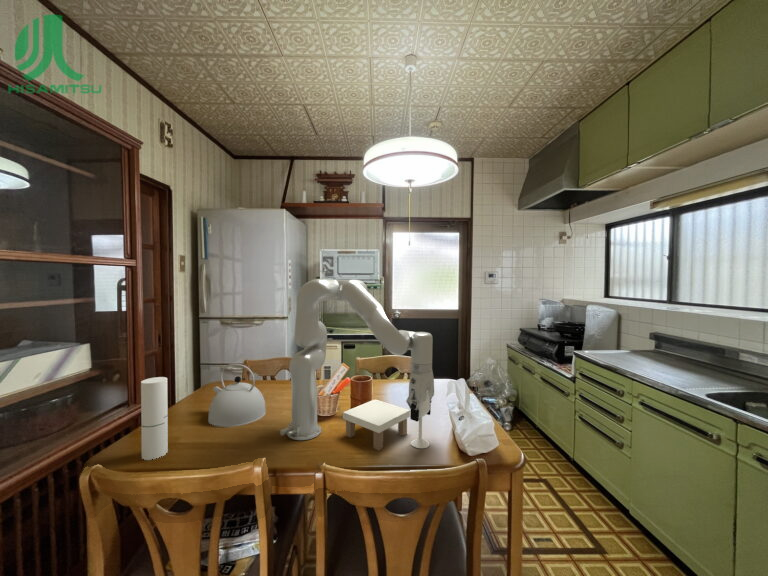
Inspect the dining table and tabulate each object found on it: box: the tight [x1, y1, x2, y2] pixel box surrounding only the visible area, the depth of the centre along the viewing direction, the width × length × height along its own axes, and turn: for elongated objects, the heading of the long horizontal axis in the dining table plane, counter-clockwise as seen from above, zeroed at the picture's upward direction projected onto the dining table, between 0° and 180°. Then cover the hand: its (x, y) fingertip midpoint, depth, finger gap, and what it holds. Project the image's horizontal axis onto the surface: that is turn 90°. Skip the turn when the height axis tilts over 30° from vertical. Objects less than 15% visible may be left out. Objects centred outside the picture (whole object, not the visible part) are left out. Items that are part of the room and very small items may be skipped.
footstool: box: [342, 399, 411, 451], centre depth 122 cm, size 18×18×9 cm
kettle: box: [207, 363, 267, 428], centre depth 140 cm, size 25×23×23 cm
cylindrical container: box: [140, 376, 169, 461], centre depth 108 cm, size 7×7×25 cm
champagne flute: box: [410, 390, 431, 449], centre depth 115 cm, size 7×7×24 cm
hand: (420, 416), depth 115 cm, fingers closed on champagne flute, 6 cm apart
